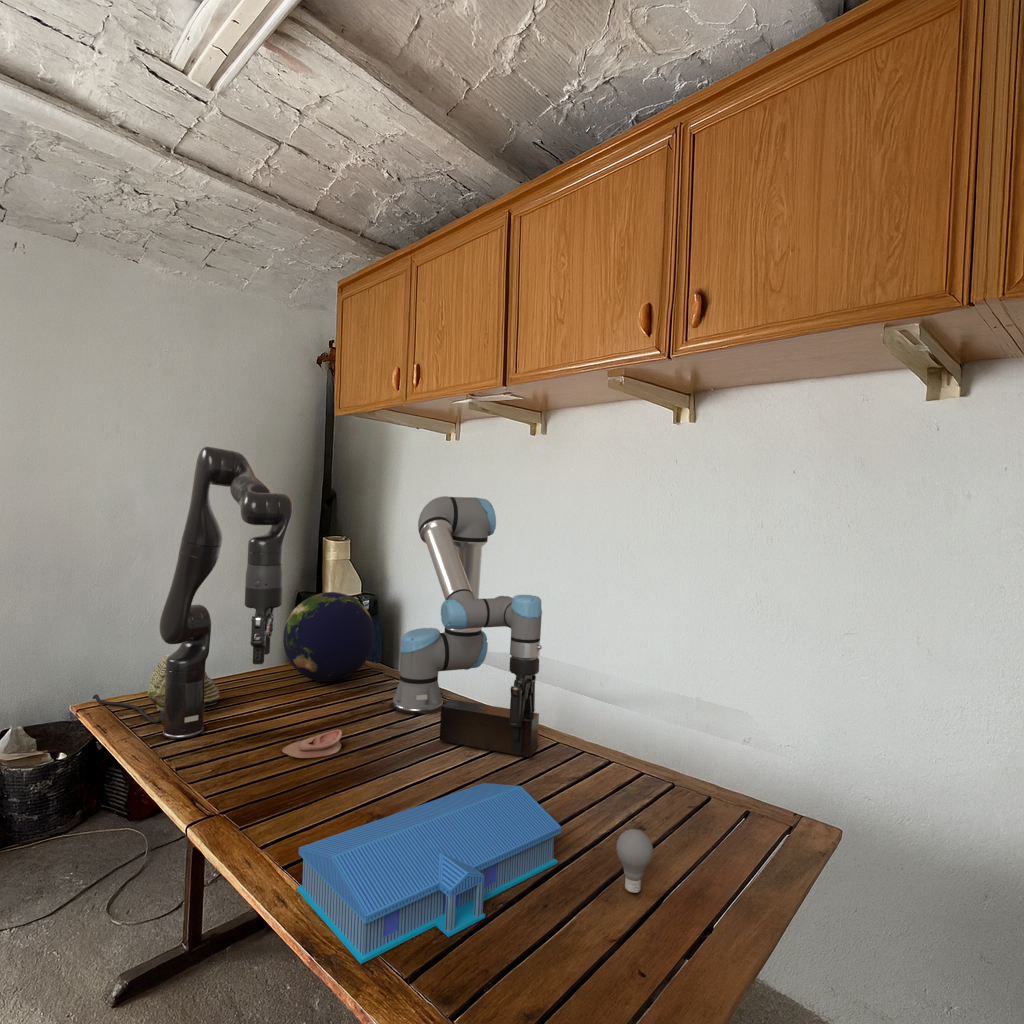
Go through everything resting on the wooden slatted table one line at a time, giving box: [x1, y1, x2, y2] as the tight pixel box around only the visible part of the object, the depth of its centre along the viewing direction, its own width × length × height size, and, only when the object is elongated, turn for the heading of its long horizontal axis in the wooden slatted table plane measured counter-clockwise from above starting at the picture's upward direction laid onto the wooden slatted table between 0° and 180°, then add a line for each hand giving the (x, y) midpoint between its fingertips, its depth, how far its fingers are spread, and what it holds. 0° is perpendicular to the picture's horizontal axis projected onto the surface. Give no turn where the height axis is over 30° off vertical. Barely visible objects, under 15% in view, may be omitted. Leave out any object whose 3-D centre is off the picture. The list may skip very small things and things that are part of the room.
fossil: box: [147, 654, 221, 712], centre depth 185 cm, size 9×18×15 cm, turn 132°
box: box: [439, 698, 540, 758], centre depth 164 cm, size 25×6×9 cm, turn 71°
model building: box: [296, 782, 562, 965], centre depth 106 cm, size 39×24×10 cm, turn 132°
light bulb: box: [615, 828, 654, 894], centre depth 106 cm, size 6×6×10 cm
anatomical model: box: [281, 729, 343, 759], centre depth 157 cm, size 13×4×12 cm
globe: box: [282, 591, 375, 683], centre depth 216 cm, size 30×30×30 cm
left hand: (261, 658), depth 138 cm, fingers open, 8 cm apart
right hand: (520, 747), depth 161 cm, fingers closed on box, 6 cm apart
